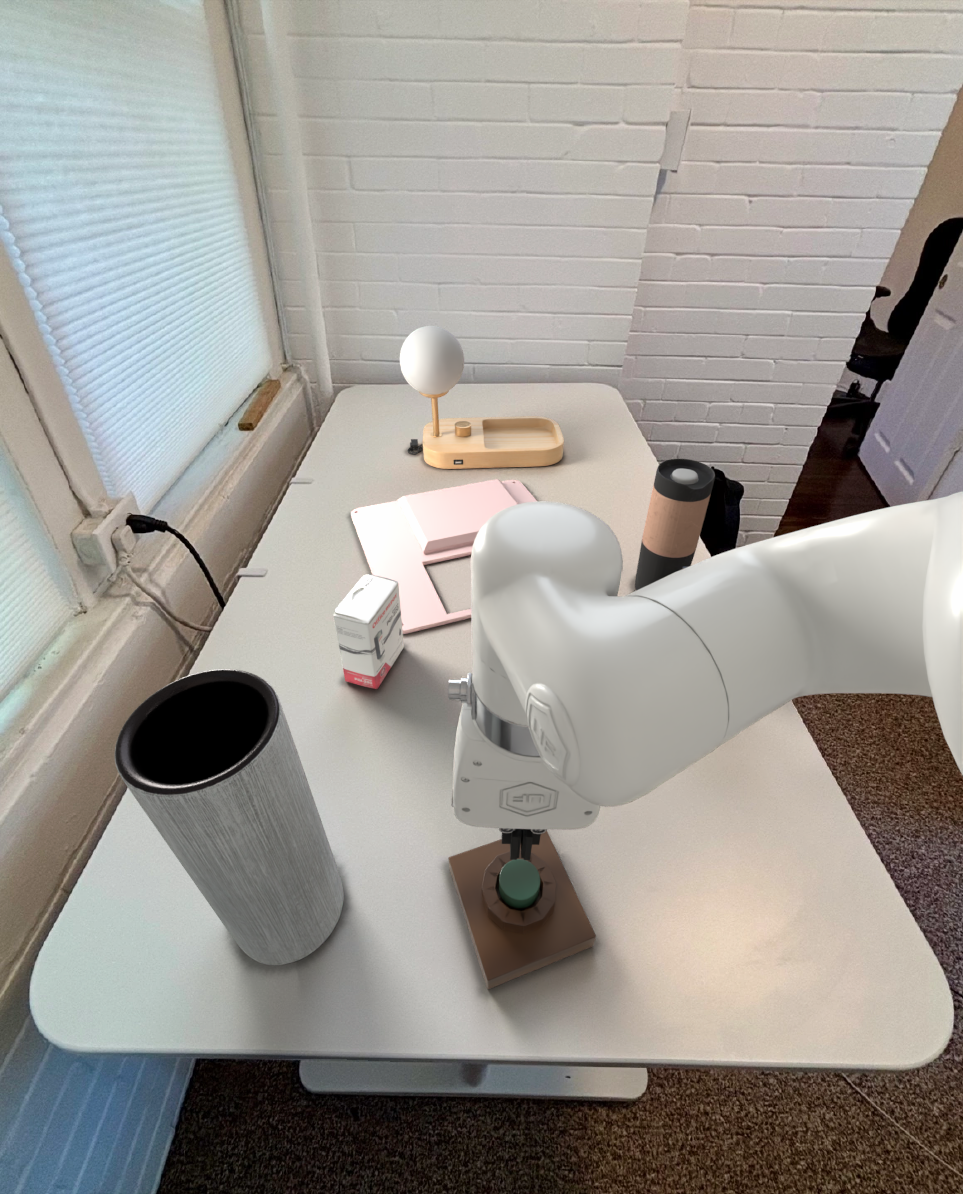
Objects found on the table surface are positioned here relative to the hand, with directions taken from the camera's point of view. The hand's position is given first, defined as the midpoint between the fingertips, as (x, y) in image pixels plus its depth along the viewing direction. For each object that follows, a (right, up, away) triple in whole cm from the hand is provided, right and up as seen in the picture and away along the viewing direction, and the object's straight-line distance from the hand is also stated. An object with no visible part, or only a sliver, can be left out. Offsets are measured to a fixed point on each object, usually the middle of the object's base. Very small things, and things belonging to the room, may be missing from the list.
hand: (519, 841), depth 48 cm
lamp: (-2, +52, +80) cm, 95 cm away
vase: (-21, -9, +7) cm, 24 cm away
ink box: (-17, +11, +31) cm, 37 cm away
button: (0, -6, +4) cm, 8 cm away
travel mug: (+24, +21, +43) cm, 53 cm away
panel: (-6, +29, +52) cm, 59 cm away
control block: (0, -9, +7) cm, 11 cm away
